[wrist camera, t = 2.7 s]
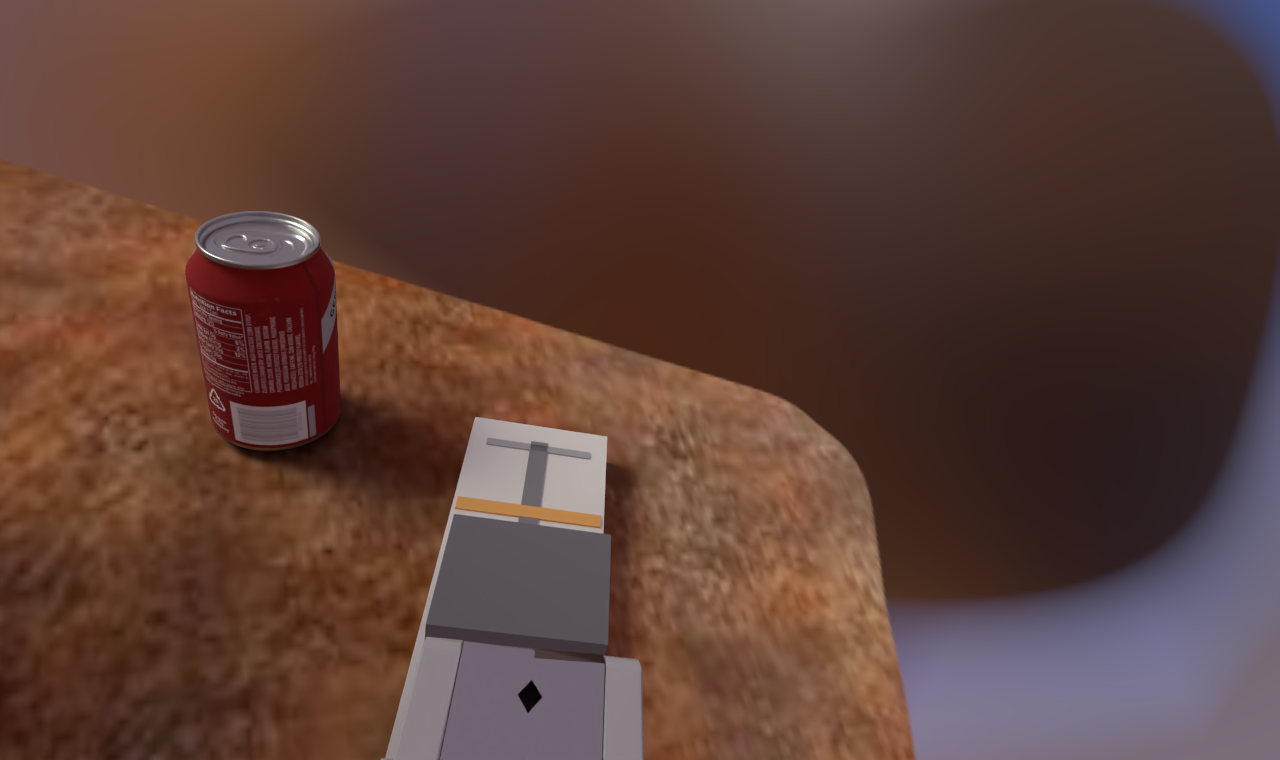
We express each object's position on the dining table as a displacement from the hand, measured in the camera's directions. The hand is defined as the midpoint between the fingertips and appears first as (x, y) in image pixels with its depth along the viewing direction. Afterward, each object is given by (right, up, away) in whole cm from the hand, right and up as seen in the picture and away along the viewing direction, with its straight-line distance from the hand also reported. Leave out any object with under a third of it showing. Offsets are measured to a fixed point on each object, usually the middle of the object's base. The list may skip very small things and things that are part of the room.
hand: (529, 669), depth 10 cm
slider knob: (-4, -10, +18) cm, 21 cm away
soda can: (-20, +2, +33) cm, 38 cm away
